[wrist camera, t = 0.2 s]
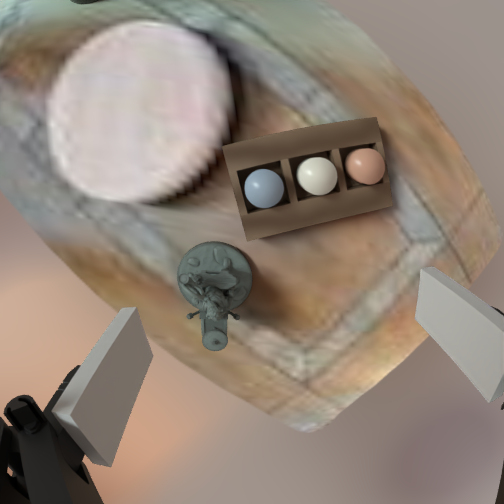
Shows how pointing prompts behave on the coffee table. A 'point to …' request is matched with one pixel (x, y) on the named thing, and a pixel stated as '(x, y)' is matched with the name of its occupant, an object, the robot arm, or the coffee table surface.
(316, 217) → the button board
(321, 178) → the button cream
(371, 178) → the button terracotta
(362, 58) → the coffee table surface
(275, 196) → the button slate
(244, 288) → the figurine
